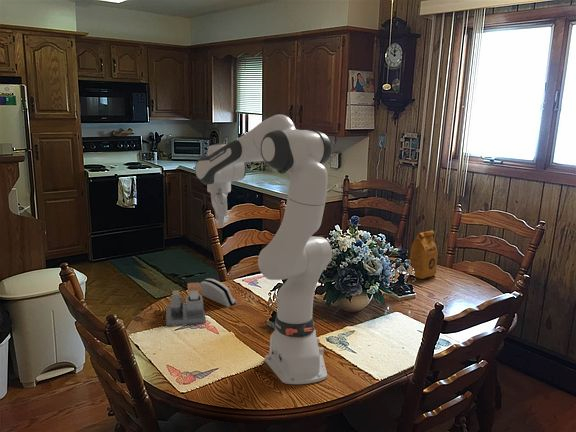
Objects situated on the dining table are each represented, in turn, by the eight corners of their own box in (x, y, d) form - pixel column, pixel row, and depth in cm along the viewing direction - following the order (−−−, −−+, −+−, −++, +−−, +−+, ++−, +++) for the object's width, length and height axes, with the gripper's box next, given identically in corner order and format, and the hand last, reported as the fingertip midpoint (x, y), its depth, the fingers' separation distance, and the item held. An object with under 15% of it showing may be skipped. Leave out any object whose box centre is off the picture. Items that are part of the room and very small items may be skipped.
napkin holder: (237, 303, 197) (231, 283, 192) (229, 310, 194) (222, 290, 190) (212, 292, 208) (205, 273, 204) (203, 298, 205) (196, 279, 201)
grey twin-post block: (205, 322, 179) (205, 302, 177) (166, 326, 176) (165, 305, 174) (202, 305, 195) (201, 286, 193) (165, 307, 191) (165, 288, 190)
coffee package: (439, 276, 233) (443, 232, 228) (421, 281, 226) (425, 235, 221) (423, 270, 241) (426, 227, 236) (405, 275, 234) (409, 230, 229)
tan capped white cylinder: (200, 312, 183) (200, 286, 181) (188, 313, 182) (188, 287, 179) (199, 308, 187) (199, 282, 185) (188, 309, 186) (187, 283, 184)
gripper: (231, 191, 174) (231, 229, 177) (224, 182, 194) (224, 216, 197) (213, 192, 173) (213, 229, 176) (208, 182, 192) (208, 217, 195)
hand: (219, 222), depth 186 cm, fingers open, 8 cm apart
